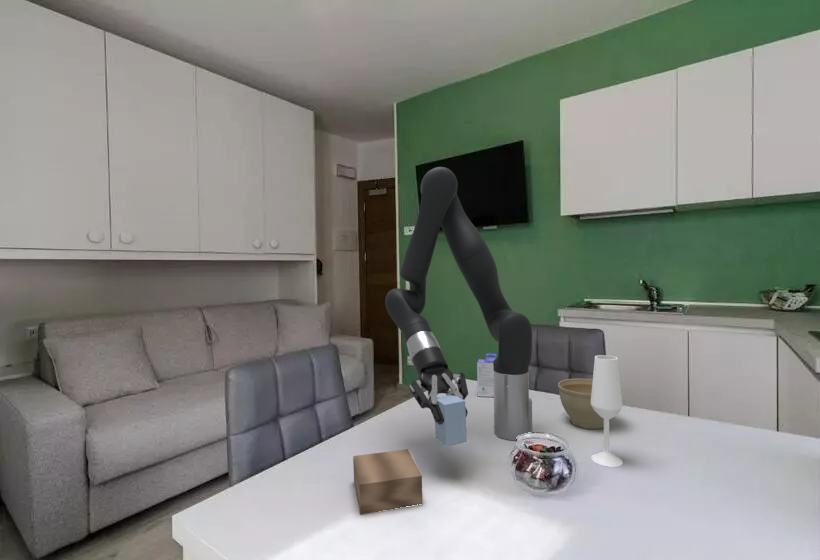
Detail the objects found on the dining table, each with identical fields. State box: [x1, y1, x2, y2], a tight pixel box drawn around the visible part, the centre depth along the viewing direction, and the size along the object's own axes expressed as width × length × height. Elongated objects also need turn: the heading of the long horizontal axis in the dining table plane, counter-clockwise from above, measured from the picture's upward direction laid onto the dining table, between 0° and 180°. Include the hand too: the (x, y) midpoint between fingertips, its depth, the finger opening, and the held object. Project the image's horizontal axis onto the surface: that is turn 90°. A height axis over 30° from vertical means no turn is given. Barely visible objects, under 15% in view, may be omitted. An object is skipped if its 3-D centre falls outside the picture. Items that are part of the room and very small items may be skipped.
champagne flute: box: [590, 354, 624, 468], centre depth 96 cm, size 7×7×24 cm
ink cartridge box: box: [476, 352, 497, 398], centre depth 145 cm, size 10×6×14 cm, turn 78°
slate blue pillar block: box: [434, 394, 468, 448], centre depth 90 cm, size 5×5×9 cm
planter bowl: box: [557, 378, 604, 430], centre depth 118 cm, size 16×16×11 cm
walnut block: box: [352, 448, 424, 516], centre depth 84 cm, size 12×12×6 cm
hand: (453, 419), depth 89 cm, fingers closed on slate blue pillar block, 5 cm apart
